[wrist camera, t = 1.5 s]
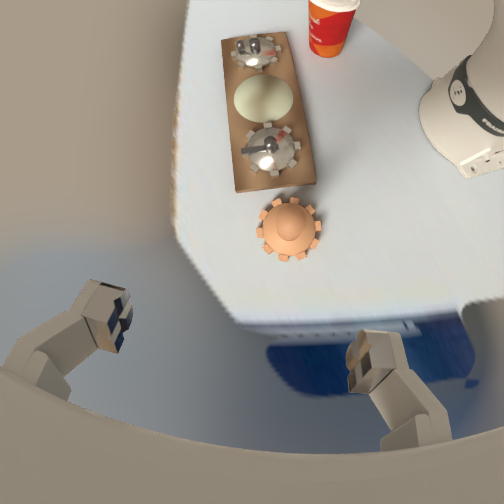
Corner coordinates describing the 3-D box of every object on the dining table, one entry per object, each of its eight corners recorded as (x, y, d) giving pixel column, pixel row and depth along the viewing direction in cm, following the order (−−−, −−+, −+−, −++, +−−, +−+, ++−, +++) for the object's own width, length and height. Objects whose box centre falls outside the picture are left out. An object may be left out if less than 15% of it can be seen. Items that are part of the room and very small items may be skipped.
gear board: (285, 37, 41) (285, 31, 40) (315, 184, 40) (316, 181, 39) (222, 45, 42) (220, 39, 41) (237, 193, 41) (235, 190, 40)
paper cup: (306, 28, 41) (310, -27, 27) (348, 38, 40) (362, -16, 26) (299, 57, 41) (302, -1, 27) (345, 67, 40) (361, 11, 26)
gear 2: (295, 123, 39) (296, 111, 36) (304, 174, 39) (306, 166, 35) (239, 130, 40) (236, 119, 36) (245, 181, 40) (242, 174, 36)
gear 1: (277, 36, 40) (276, 22, 36) (284, 69, 40) (284, 55, 36) (230, 42, 41) (226, 28, 37) (234, 75, 40) (230, 62, 37)
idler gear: (315, 196, 40) (325, 177, 30) (323, 257, 40) (336, 256, 30) (254, 203, 41) (245, 185, 31) (261, 264, 41) (254, 265, 31)
